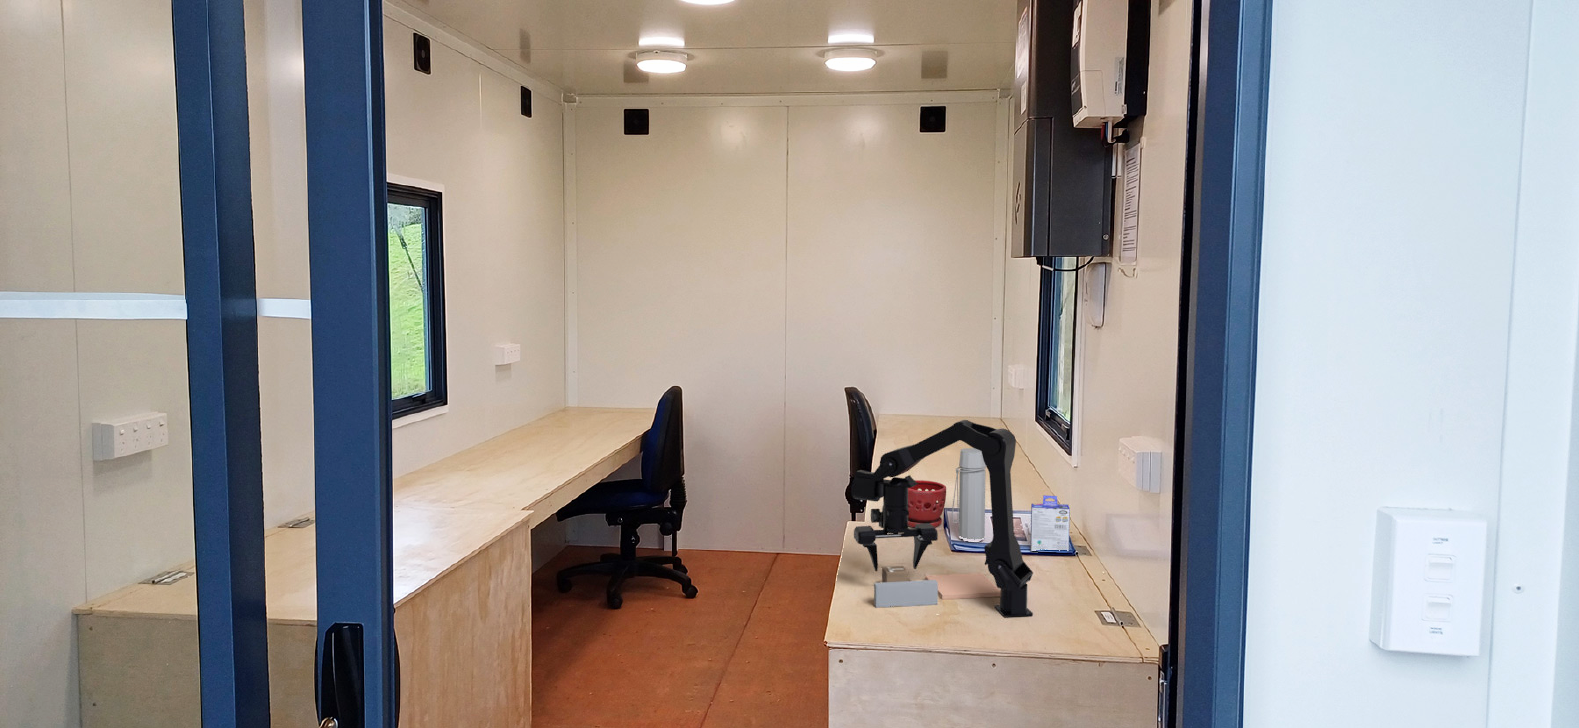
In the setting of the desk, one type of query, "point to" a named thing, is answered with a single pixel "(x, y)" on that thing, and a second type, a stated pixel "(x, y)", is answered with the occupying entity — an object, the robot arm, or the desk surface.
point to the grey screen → (906, 593)
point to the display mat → (964, 586)
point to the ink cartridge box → (1050, 525)
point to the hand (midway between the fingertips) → (895, 569)
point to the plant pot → (926, 503)
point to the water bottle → (971, 494)
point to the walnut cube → (894, 574)
